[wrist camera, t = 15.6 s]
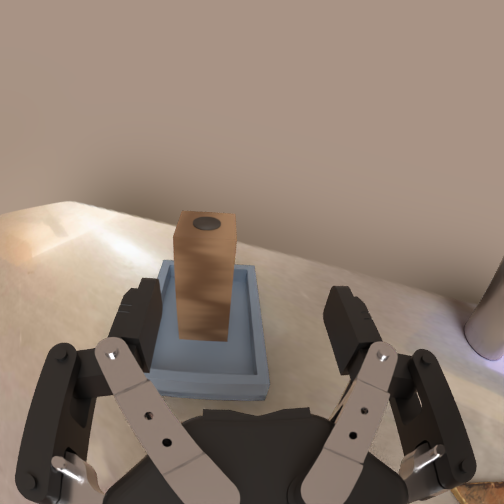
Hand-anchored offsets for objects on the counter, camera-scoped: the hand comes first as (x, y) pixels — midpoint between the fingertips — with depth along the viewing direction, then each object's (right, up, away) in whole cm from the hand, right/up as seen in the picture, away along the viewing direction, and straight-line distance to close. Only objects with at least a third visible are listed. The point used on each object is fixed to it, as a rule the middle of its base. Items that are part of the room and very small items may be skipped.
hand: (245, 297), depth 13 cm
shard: (+23, -24, -3) cm, 33 cm away
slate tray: (-5, -7, +18) cm, 20 cm away
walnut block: (-5, -6, +17) cm, 19 cm away
